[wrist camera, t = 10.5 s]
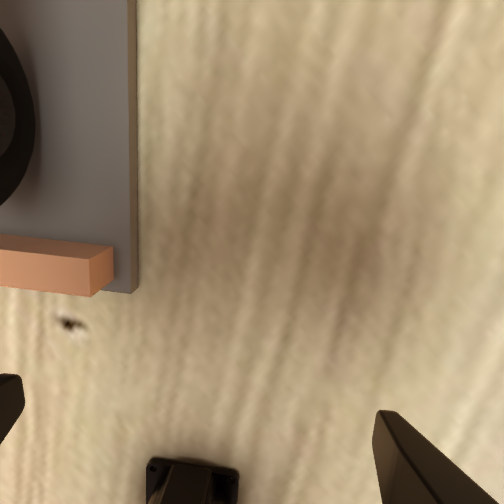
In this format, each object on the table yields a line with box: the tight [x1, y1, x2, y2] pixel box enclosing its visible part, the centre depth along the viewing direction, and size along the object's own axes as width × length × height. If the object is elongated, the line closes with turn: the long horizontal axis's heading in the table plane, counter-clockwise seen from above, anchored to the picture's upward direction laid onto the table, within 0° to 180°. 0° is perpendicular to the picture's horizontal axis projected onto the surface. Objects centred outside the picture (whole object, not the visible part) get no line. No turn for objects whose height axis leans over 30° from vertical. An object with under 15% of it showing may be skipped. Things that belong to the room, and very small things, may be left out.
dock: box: [0, 0, 138, 297], centre depth 17 cm, size 20×12×4 cm, turn 175°
